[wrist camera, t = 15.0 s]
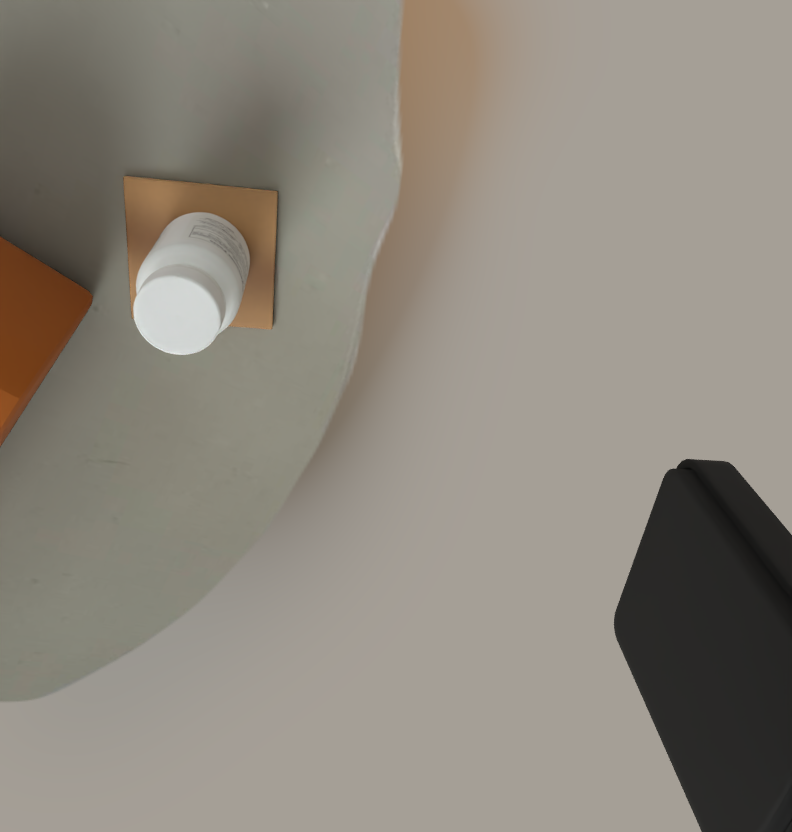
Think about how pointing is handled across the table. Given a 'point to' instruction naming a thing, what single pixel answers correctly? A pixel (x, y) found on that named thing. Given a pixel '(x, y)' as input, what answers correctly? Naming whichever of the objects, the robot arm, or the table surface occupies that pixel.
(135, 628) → the table surface
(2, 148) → the table surface
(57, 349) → the alarm clock
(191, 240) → the pill bottle
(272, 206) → the placemat
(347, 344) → the table surface
